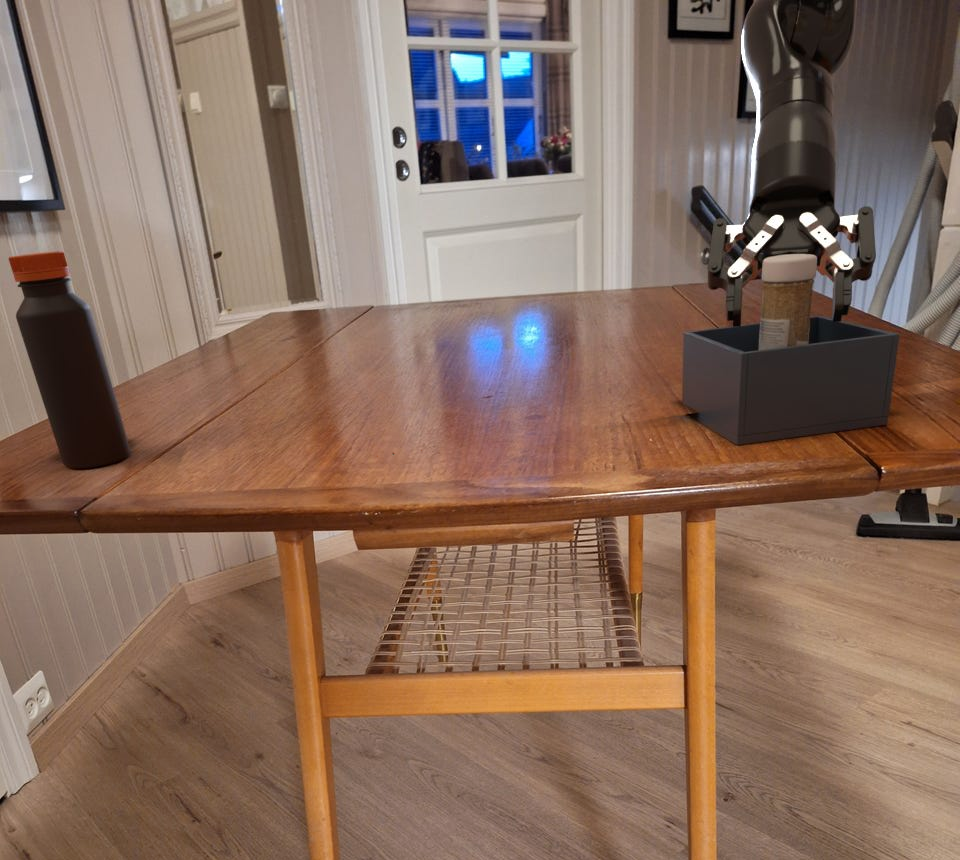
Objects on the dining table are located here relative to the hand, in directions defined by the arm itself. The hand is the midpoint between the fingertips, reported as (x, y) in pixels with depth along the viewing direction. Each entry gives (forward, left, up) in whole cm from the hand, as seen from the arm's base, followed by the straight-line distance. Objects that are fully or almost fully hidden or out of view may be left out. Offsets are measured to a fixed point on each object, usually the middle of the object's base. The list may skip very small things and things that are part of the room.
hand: (786, 318), depth 77 cm
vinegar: (+67, -19, -9) cm, 70 cm away
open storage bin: (-1, -1, -9) cm, 9 cm away
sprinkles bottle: (-1, -1, -9) cm, 9 cm away
